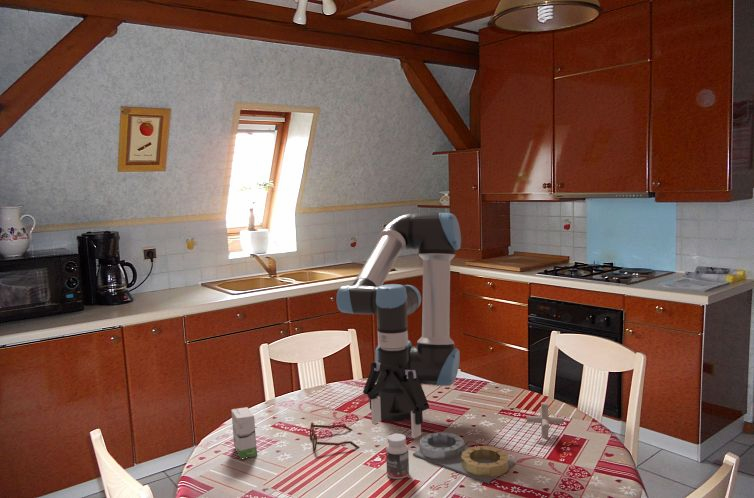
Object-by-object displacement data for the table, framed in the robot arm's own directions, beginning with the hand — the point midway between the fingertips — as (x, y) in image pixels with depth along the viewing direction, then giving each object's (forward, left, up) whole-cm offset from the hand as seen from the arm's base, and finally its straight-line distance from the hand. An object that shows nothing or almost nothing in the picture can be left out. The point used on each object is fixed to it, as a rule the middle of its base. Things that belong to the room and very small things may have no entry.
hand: (395, 429), depth 149 cm
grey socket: (+1, +17, -12) cm, 21 cm away
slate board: (+8, +17, -12) cm, 23 cm away
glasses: (-28, +3, -13) cm, 31 cm away
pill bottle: (0, 0, -12) cm, 12 cm away
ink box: (-42, -18, -12) cm, 47 cm away
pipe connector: (+18, +43, -12) cm, 48 cm away
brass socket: (+15, +17, -12) cm, 26 cm away
